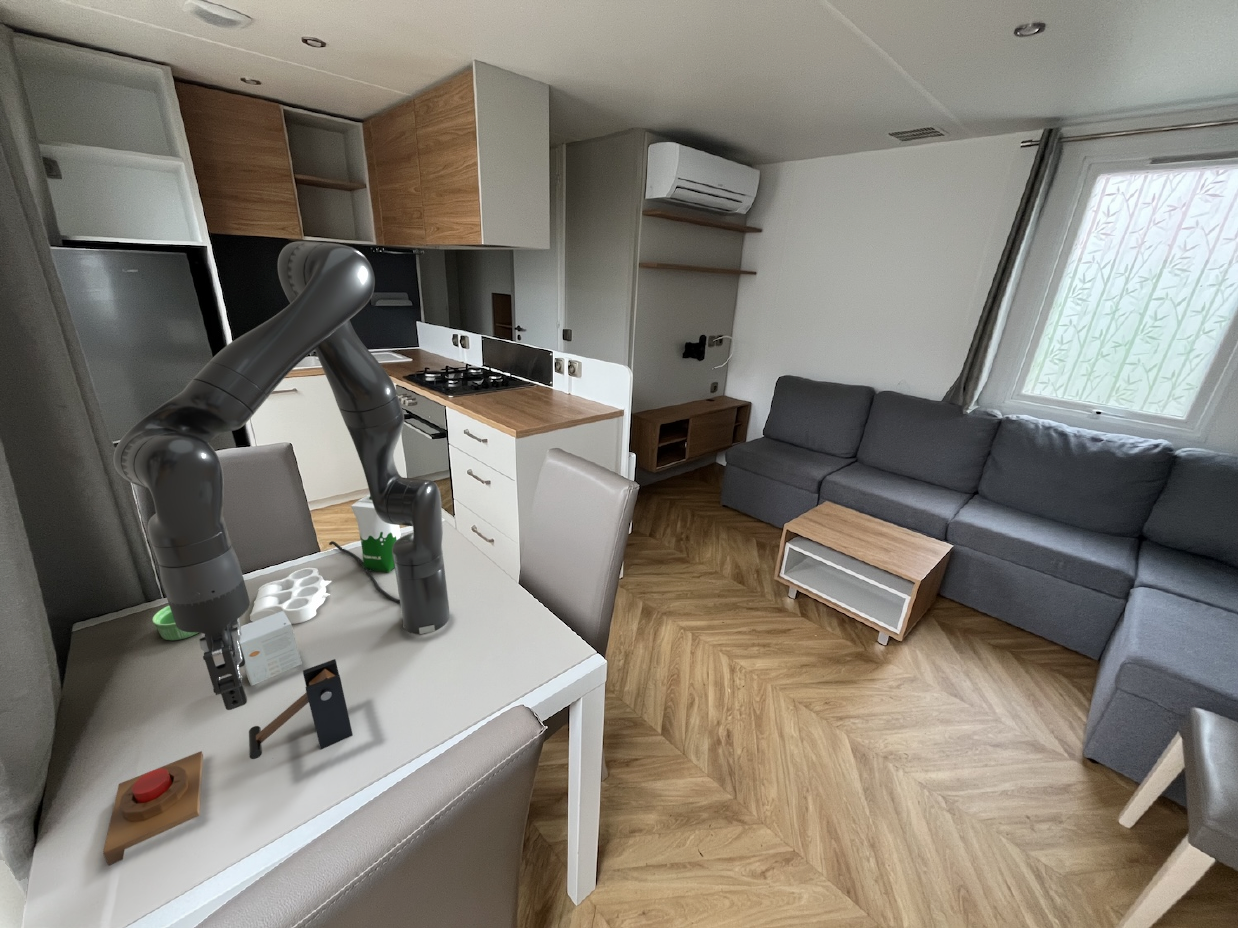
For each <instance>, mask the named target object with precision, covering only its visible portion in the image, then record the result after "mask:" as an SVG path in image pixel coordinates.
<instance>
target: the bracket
mask: <svg viewBox="0 0 1238 928" xmlns="http://www.w3.org/2000/svg"><path fill="white" fill-rule="evenodd" d="M324 669H326V670H328V671H329V672H331V673H332V674H334V675H335V676H333V677H331V678H328V679H325V680H323V681H320V682H317V683H315V684H312V685H309V682H310V681H311V680H312V679H314V678H315V677H316V676H317V675H318V674H319V673H321V672H322V671H323V670H324ZM302 675H303V679H304V683H305V693H307V697H308V701H309V703H308V704H309V709H310V713H311V717H312V721H313V724H314V729H315V732H316V736H317V740H318V744H319V748H320V749H319V750H324V749H326V748H328V747H331V746H333V745H335V744H337V743H339V742H341V741H344V740H346V739H348V738H351V737H352V736H354V735H353V734H354V733H353V730H352V725H351V722H350V716H349V712H348V707H347V701H346V697H345V693H344V689H343V684H342V679H341V675H340V673H339V669H338V664H337V660H336V659H335V658H334V659H332V660H331V659H330V660H327V661H324V662H323V663H320V664H317V665H314V666H311V667H308V668H305V669H303V670H302Z"/></svg>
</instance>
